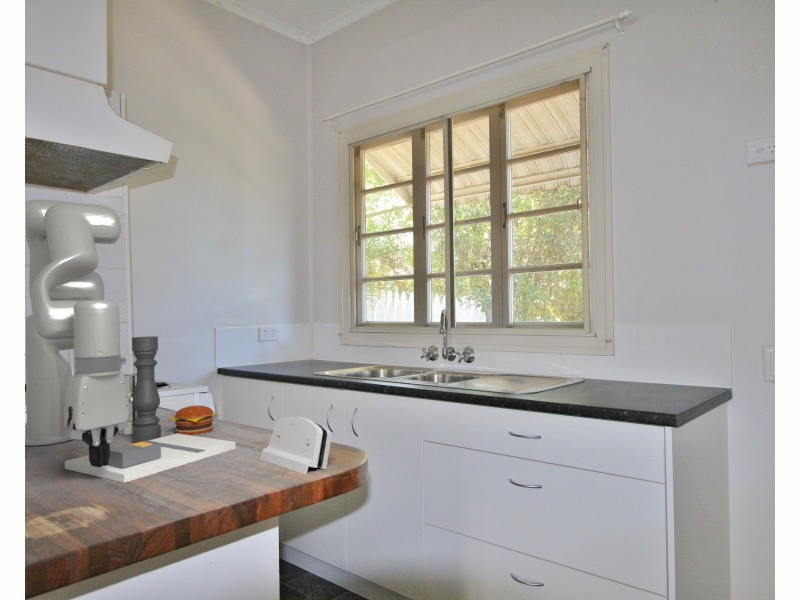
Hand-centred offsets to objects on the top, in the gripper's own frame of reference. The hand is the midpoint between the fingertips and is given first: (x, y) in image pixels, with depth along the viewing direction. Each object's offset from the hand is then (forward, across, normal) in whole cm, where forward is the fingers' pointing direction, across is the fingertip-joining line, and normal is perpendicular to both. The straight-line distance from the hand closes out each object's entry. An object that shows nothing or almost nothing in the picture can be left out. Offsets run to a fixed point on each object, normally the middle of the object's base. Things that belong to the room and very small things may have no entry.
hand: (99, 465), depth 100 cm
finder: (+1, -7, 0) cm, 7 cm away
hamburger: (+3, -35, -18) cm, 39 cm away
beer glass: (+3, -27, -32) cm, 42 cm away
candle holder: (+3, -23, -20) cm, 31 cm away
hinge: (+3, -25, +26) cm, 36 cm away
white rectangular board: (+3, -14, -4) cm, 15 cm away
